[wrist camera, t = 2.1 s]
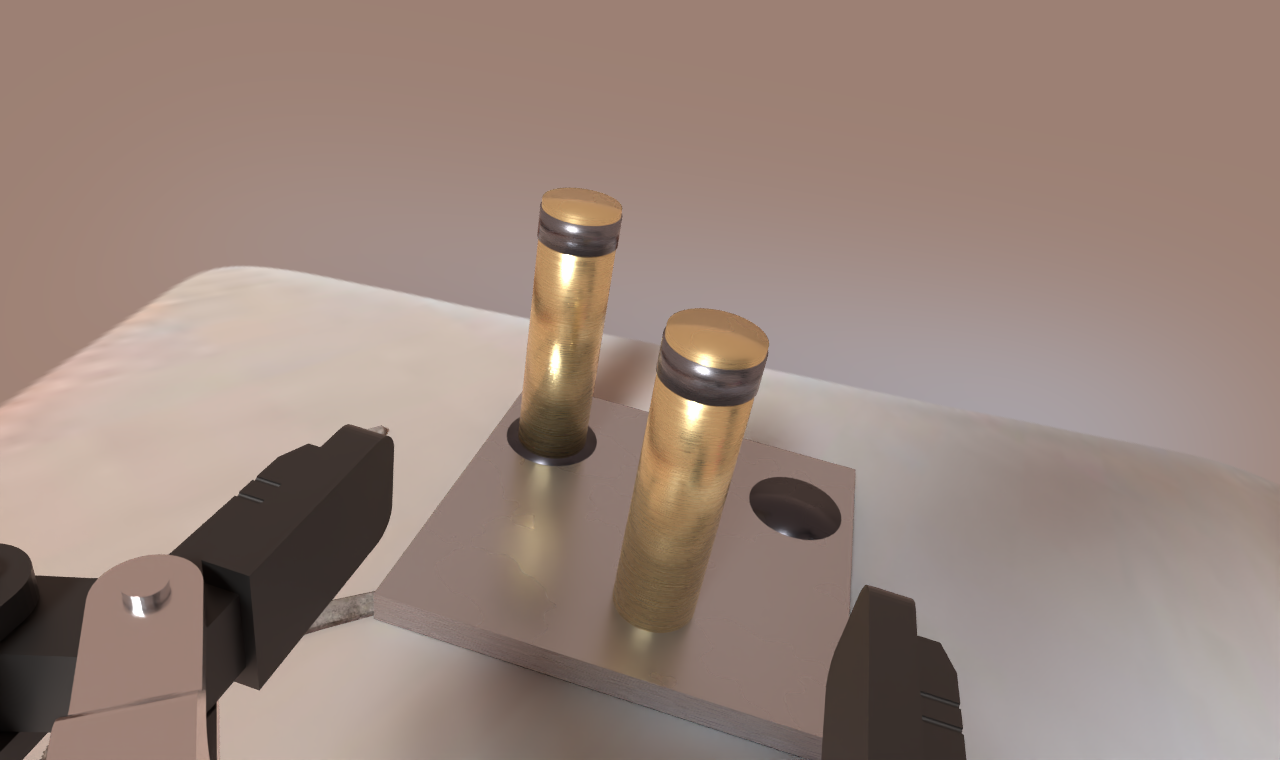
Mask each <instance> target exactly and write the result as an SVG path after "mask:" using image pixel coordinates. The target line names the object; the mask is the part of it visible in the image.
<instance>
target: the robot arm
mask: <svg viewBox="0 0 1280 760" xmlns="http://www.w3.org/2000/svg"><path fill="white" fill-rule="evenodd" d="M393 463H394V443H393V440H392V438H391V437H389V436H386V435H383V434H380V433H377V432H373V431H370V430H367V429H363V428H360V427H357V426H354V425H350V424H348V425H345V426H343V427H342V428H341V429H339V430H338V431H337V432H336V433H335V434H334V435H333V436H332V437H331V438H330V439H329V440H328V441H327V442H326V443H325V444H324V445H322V446H321V447H318V446H315V445H311V444H306V445H304V446H302V447H300V448H297V449H295V450H293V451H291V452H288V453H286V454H284V455H282V456H279V457H278V458H277V459H276V460H274V461H273V462H272V463H271V464H270V465H269V466H268V467H267V468H265V469H264V470H263V471H262V472H261V473H260V474H259V475H258V476H257V478H256V480H255V481H254V480H252V481H251V482H250V483H249V484H248V485H246V486H245V487H244V488H243V489H242V490H241V491H240V492H239V495H238V496H234V497H233V498H232V499H231V500H230V501H228V502H227V503H226V504H225V505H224V506H223V507H222V508H221V509H220V510H218V511H217V512H216V513H215V514H214V515H213V516H212V517H211V518H209V519H208V520H207V521H206V522H205V523H204V524H203V525H202V526H200V527H199V528H198V529H197V530H196V531H195V532H194V533H193V534H191V535H190V536H189V537H188V538H187V539H186V540H185V541H184V542H183V543H181V544H180V545H179V546H178V547H177V548H176V549H175V550H174V551H172V552H171V553H170V554H169V555H160V554H158V555H148V556H142V557H138V558H134V559H131V560H128V561H126V562H123V563H121V564H119V565H117V566H115V567H113V568H111V569H110V570H108V571H107V572H105V573H104V574H103V575H102V576H101V577H99V578H75V577H55V576H35V574H34V570H33V566H32V562H31V560H30V558H29V556H28V555H27V554H26V553H25V552H24V551H22V550H21V549H19V548H17V547H14V546H11V545H6V544H0V760H23V759H24V757H25V756H26V755H27V754H28V753H29V752H30V751H31V750H32V749H33V748H34V747H35V746H36V745H37V744H38V742H39V741H40V740H41V739H42V738H43V737H44V736H45V735H46V734H47V733H48V732H51V735H50V741H49V746H48V752H47V758H46V760H220V718H219V701H218V699H219V698H220V697H221V696H222V695H223V694H224V692H225V691H226V690H227V689H228V688H229V687H230V685H231V684H232V683H233V682H237V683H240V684H243V685H246V686H249V687H251V688H254V689H257V690H260V689H261V688H262V687H263V685H264V684H265V683H266V682H267V680H268V679H269V678H270V677H271V675H272V674H273V673H274V672H275V670H276V669H277V668H278V667H279V665H280V664H281V663H282V662H283V660H284V659H285V658H286V657H287V655H288V654H289V653H290V652H291V650H292V649H293V648H294V647H295V645H296V644H297V643H298V642H299V640H300V639H301V638H302V637H303V636H304V634H305V633H306V632H307V631H308V629H309V628H310V627H311V626H312V624H313V623H314V622H315V621H316V619H317V618H318V617H319V616H320V614H321V613H322V612H323V611H324V609H325V608H326V607H327V606H328V604H329V603H330V602H331V601H332V599H333V598H334V597H335V596H336V594H337V593H338V592H339V591H340V589H341V588H342V587H343V586H344V585H345V583H346V582H347V581H348V580H349V578H350V577H351V576H352V575H353V573H354V572H355V571H356V570H357V568H358V567H359V566H360V565H361V563H362V562H363V561H364V560H365V558H366V557H367V556H368V555H369V553H370V552H371V551H372V550H373V548H374V547H375V546H376V545H377V543H378V542H379V541H380V539H381V537H382V536H383V534H384V532H385V530H386V527H387V525H388V522H389V519H390V515H391V510H392V494H393ZM959 705H960V697H959V688H958V679H957V673H956V671H955V669H954V667H953V665H952V663H951V662H950V660H949V658H948V656H947V654H946V652H945V650H944V649H943V647H942V645H941V643H939V642H936V641H933V640H930V639H927V638H923V637H920V636H917V624H916V608H915V602H914V600H913V599H911V598H908V597H905V596H901V595H898V594H895V593H892V592H888V591H885V590H882V589H879V588H875V587H872V586H869V585H865V586H864V587H863V589H862V590H861V592H860V594H859V597H858V599H857V601H856V603H855V606H854V608H853V610H852V612H851V615H850V617H849V619H848V622H847V624H846V626H845V628H844V631H843V633H842V635H841V637H840V640H839V642H838V644H837V647H836V649H835V651H834V654H833V657H832V660H831V664H830V668H829V672H828V677H827V683H826V693H825V708H824V724H823V739H822V755H821V760H966V752H965V743H964V735H963V734H962V729H963V725H962V716H961V709H959Z"/></svg>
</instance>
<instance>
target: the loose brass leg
mask: <svg viewBox="0 0 1280 760" xmlns="http://www.w3.org/2000/svg"><path fill="white" fill-rule="evenodd" d="M768 347H769V340H768V338H767V336H766V334H765V333H764V332H763V331H762V330H761V329H760V328H759V327H758V326H756V325H755V324H753V323H752V322H750V321H748V320H746V319H744V318H742V317H740V316H737V315H735V314H731V313H728V312H724V311H720V310H714V309H704V308H703V309H702V308H699V309H698V308H697V309H696V308H695V309H687V310H683V311H679V312H677V313H675V314H673V315H672V316H671V317H670V318H669V319H668V322H667V326H666V327H665V329H664V332H663V337H662V342H661V347H660V352H659V357H658V362H657V367H656V372H657V375H656V380H655V385H654V390H653V395H652V400H651V405H650V410H649V415H648V420H647V425H646V430H645V435H644V440H643V445H642V449H641V454H640V459H639V464H638V469H637V474H636V479H635V484H634V489H633V494H632V499H631V504H630V509H629V514H628V519H627V524H626V529H625V534H624V539H623V544H622V549H621V554H620V559H619V564H618V569H617V574H616V579H615V584H614V589H613V602H614V605H615V608H616V610H617V611H618V613H619V614H620V615H621V616H622V617H623V618H624V619H625V620H626V621H627V622H628V623H630V624H631V625H633V626H635V627H637V628H639V629H642V630H645V631H649V632H655V633H667V632H672V631H675V630H678V629H680V628H682V627H684V626H685V625H686V624H687V623H688V622H689V621H690V620H691V619H692V617H693V615H694V612H695V608H696V605H697V601H698V598H699V594H700V590H701V587H702V583H703V580H704V576H705V572H706V569H707V565H708V562H709V558H710V555H711V551H712V547H713V544H714V540H715V537H716V533H717V530H718V526H719V522H720V519H721V515H722V512H723V508H724V504H725V501H726V497H727V494H728V490H729V487H730V483H731V479H732V476H733V472H734V469H735V465H736V462H737V458H738V454H739V451H740V447H741V444H742V440H743V437H744V433H745V429H746V426H747V422H748V419H749V415H750V411H751V408H752V404H753V401H754V397H755V396H756V394H757V392H758V389H759V386H760V382H761V378H762V375H763V371H764V368H765V364H766V361H767V357H768Z"/></svg>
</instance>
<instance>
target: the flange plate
mask: <svg viewBox="0 0 1280 760" xmlns="http://www.w3.org/2000/svg"><path fill="white" fill-rule="evenodd" d="M522 393H523V391H522ZM522 393H521V394H520V395H519V397H518V398H517V399H516V401H515V402H514V403H513V405H512V406H511V408H510V409H509V410H508V412H507V413H506V414H505V416H504V417H503V418H502V420H501V421H500V423H499V424H498V425H497V427H496V428H495V429H494V431H493V432H492V433H491V435H490V436H489V437H488V439H487V440H486V442H485V443H484V444H483V446H482V447H481V448H480V450H479V451H478V452H477V454H476V455H475V457H474V458H473V459H472V461H471V462H470V463H469V465H468V466H467V467H466V469H465V470H464V471H463V473H462V474H461V476H460V477H459V478H458V480H457V481H456V482H455V484H454V485H453V486H452V488H451V489H450V491H449V492H448V493H447V495H446V496H445V497H444V499H443V500H442V501H441V503H440V504H439V506H438V507H437V508H436V510H435V511H434V512H433V514H432V515H431V516H430V518H429V519H428V520H427V522H426V523H425V525H424V526H423V527H422V529H421V530H420V531H419V533H418V534H417V535H416V537H415V538H414V540H413V541H412V542H411V544H410V545H409V546H408V548H407V549H406V550H405V552H404V553H403V554H402V556H401V557H400V559H399V560H398V561H397V563H396V564H395V565H394V567H393V568H392V569H391V571H390V572H389V574H388V575H387V576H386V578H385V579H384V580H383V582H382V583H381V584H380V586H379V587H378V589H377V590H376V591H375V593H374V619H377V620H380V621H383V622H386V623H389V624H392V625H396V626H399V627H402V628H405V629H408V630H411V631H414V632H417V633H420V634H423V635H426V636H429V637H433V638H436V639H439V640H442V641H445V642H448V643H451V644H454V645H457V646H460V647H463V648H466V649H470V650H473V651H476V652H479V653H482V654H485V655H488V656H491V657H494V658H497V659H500V660H503V661H507V662H510V663H513V664H516V665H519V666H522V667H525V668H528V669H531V670H534V671H537V672H540V673H543V674H547V675H550V676H553V677H556V678H559V679H562V680H565V681H568V682H571V683H574V684H577V685H580V686H584V687H587V688H590V689H593V690H596V691H599V692H602V693H605V694H608V695H611V696H614V697H617V698H621V699H624V700H627V701H630V702H633V703H636V704H639V705H642V706H645V707H648V708H651V709H654V710H658V711H661V712H664V713H667V714H670V715H673V716H676V717H679V718H682V719H685V720H688V721H691V722H695V723H698V724H701V725H704V726H707V727H710V728H713V729H716V730H719V731H722V732H725V733H728V734H732V735H735V736H738V737H741V738H744V739H747V740H750V741H753V742H756V743H759V744H762V745H765V746H769V747H772V748H775V749H778V750H781V751H784V752H787V753H790V754H793V755H796V756H799V757H802V758H806V759H809V760H821V755H822V739H823V724H824V708H825V693H826V683H827V677H828V672H829V668H830V664H831V660H832V657H833V654H834V651H835V649H836V647H837V644H838V642H839V640H840V637H841V635H842V633H843V631H844V628H845V626H846V624H847V622H848V619H849V608H850V584H851V560H852V537H853V513H854V490H855V469H851V468H848V467H844V466H841V465H837V464H833V463H830V462H826V461H823V460H819V459H815V458H812V457H808V456H805V455H801V454H797V453H794V452H790V451H787V450H783V449H779V448H776V447H772V446H768V445H765V444H761V443H758V442H754V441H750V440H747V439H743V440H742V444H741V447H740V451H739V454H738V458H737V462H736V465H735V469H734V472H733V476H732V479H731V483H730V487H729V490H728V494H727V497H726V501H725V504H724V508H723V512H722V515H721V519H720V522H719V526H718V530H717V533H716V537H715V540H714V544H713V547H712V551H711V555H710V558H709V562H708V565H707V569H706V572H705V576H704V580H703V583H702V587H701V590H700V594H699V598H698V601H697V605H696V608H695V612H694V615H693V617H692V619H691V620H690V621H689V622H688V623H687V624H686V625H685V626H684V627H682V628H680V629H678V630H675V631H672V632H667V633H655V632H649V631H645V630H642V629H639V628H637V627H635V626H633V625H631V624H630V623H628V622H627V621H626V620H625V619H624V618H623V617H622V616H621V615H620V614H619V613H618V611H617V610H616V608H615V605H614V602H613V589H614V584H615V579H616V574H617V569H618V564H619V559H620V554H621V549H622V544H623V539H624V534H625V529H626V524H627V519H628V514H629V509H630V504H631V499H632V494H633V489H634V484H635V479H636V474H637V469H638V464H639V459H640V454H641V449H642V445H643V440H644V435H645V430H646V425H647V420H648V415H649V412H646V411H642V410H639V409H635V408H632V407H628V406H624V405H621V404H617V403H614V402H610V401H606V400H603V399H599V398H595V397H593V398H592V405H591V411H590V418H589V424H588V430H587V437H586V443H585V446H584V448H583V449H582V450H581V451H580V452H579V453H577V454H575V455H573V456H570V457H566V458H546V457H542V456H538V455H536V454H533V453H531V452H530V451H528V450H527V449H525V448H524V447H523V446H522V444H521V443H520V441H519V438H518V432H519V422H520V412H521V403H522Z"/></svg>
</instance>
